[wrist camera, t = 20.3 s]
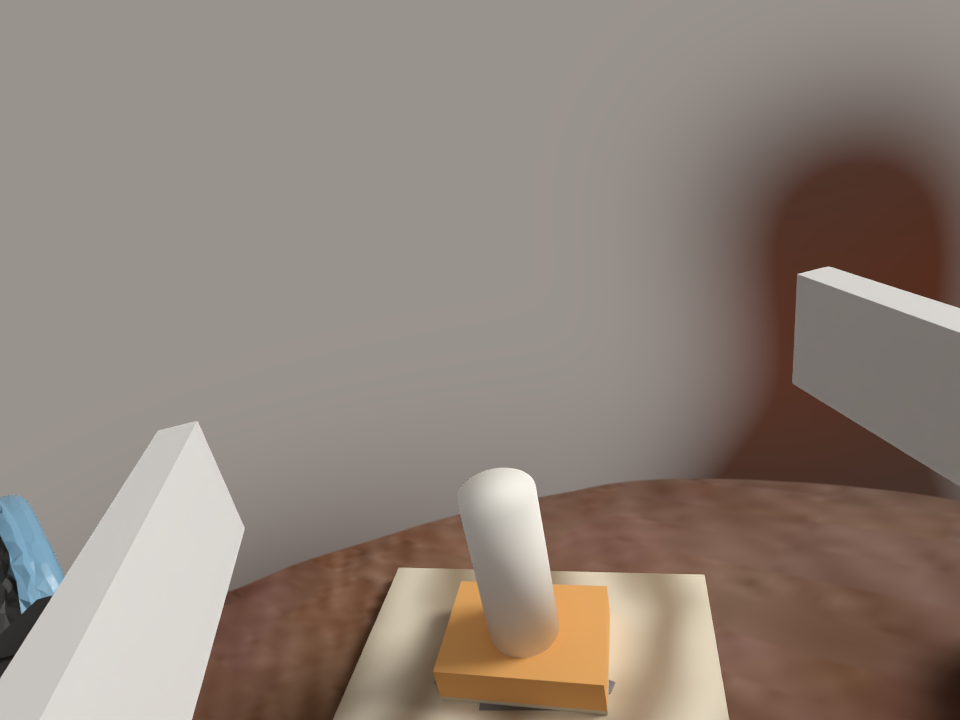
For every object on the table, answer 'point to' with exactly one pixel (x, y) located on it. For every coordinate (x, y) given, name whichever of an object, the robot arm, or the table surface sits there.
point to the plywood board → (631, 708)
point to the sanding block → (520, 611)
